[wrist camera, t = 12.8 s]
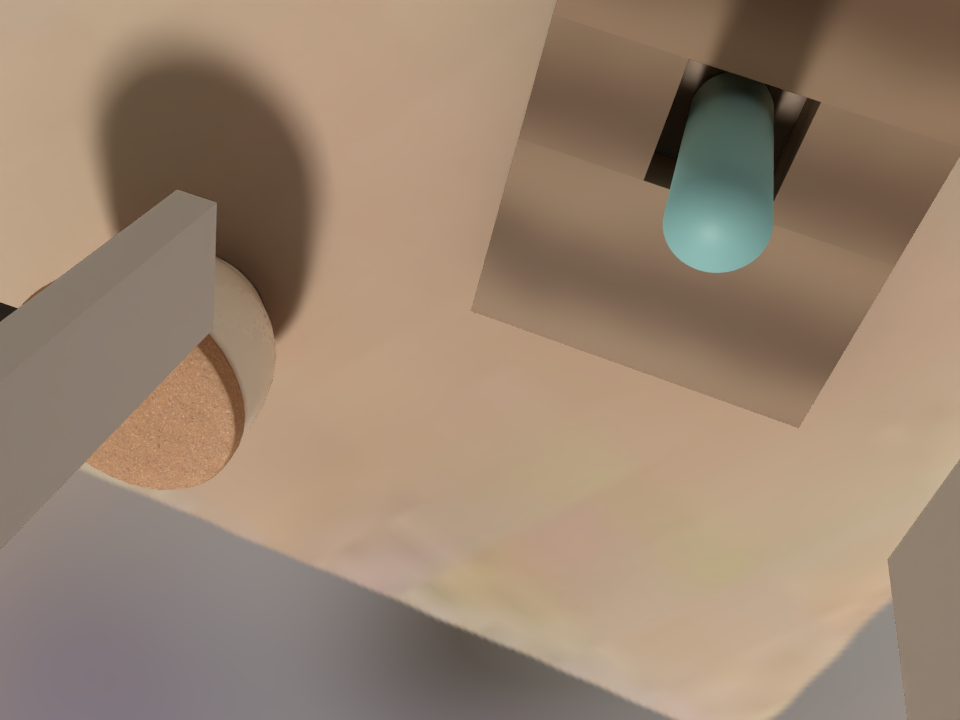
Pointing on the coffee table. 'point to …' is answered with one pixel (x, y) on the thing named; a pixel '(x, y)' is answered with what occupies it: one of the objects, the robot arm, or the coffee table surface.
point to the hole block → (796, 195)
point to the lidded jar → (199, 397)
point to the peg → (723, 177)
